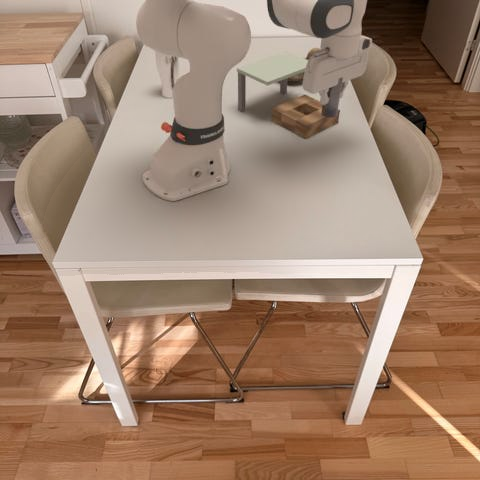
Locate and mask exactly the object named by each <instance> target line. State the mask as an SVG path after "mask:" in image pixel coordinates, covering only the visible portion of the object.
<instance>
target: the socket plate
mask: <svg viewBox="0 0 480 480" xmlns="http://www.w3.org/2000/svg"><path fill="white" fill-rule="evenodd" d="M322 105H323V104H321V103H320V100H318V99H315V98H314V97H311V96H309V95H308V94H302V95H300V96H298V97H295V98H292V99H291V100H288V101H285V102H283V103H281V104H278V105H276V106H274V107H272V108H271V115H270V117H271V118H270V121H271V122H273V123H275V124H276V125H278V126H280V127H282V128H285V129H286V130H288V131H290V132H292V133H294V134H296V135H298V136H299V137H301V138H304V139H308V138H309V137H312V136H315V135H317V134H319V133H320V132H322V131H324V130H326V129H329V128H330V127H333V126H335V125H337V124H339V120H340V119H339V118H340V112H341V110H340V109H339V108H338V112H337V116H336V117H333V118H329V117H324V116H323V115H322V114H321V113H322Z"/></svg>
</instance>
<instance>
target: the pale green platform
mask: <svg viewBox="0 0 480 480" xmlns="http://www.w3.org/2000/svg"><path fill="white" fill-rule="evenodd" d="M304 58H305V57H301V56H298V55H296V54H293V53H290V52H288V51H283V52H281V53H277V54H274V55H272V56H269V57H265V58H262V59H260V60H257V61H255V62H251V63H248V64H245V65H242V66H239V67H237V68H236V72H237V110H238V111H240V112H241V113H242V112H244V111H246V107H247V106H246V96H247V94H246V92H247V91H246V90H247V89H246V85H247V83H246V78H247V77H248V78H249V79H252V80H254V81H257V82H259V83H261V84H263V85H265V86H270V85H273V84H276V83H278V82H280V83H279V94H280V95H283V96H284V95H286V94H288V92H287V91H288V82H289V81H288V78H289V77H291V76H294V75H297V74H299V73H302V72H304V71H305V68H306V65H307V62H308V60H306V59H304Z"/></svg>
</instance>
